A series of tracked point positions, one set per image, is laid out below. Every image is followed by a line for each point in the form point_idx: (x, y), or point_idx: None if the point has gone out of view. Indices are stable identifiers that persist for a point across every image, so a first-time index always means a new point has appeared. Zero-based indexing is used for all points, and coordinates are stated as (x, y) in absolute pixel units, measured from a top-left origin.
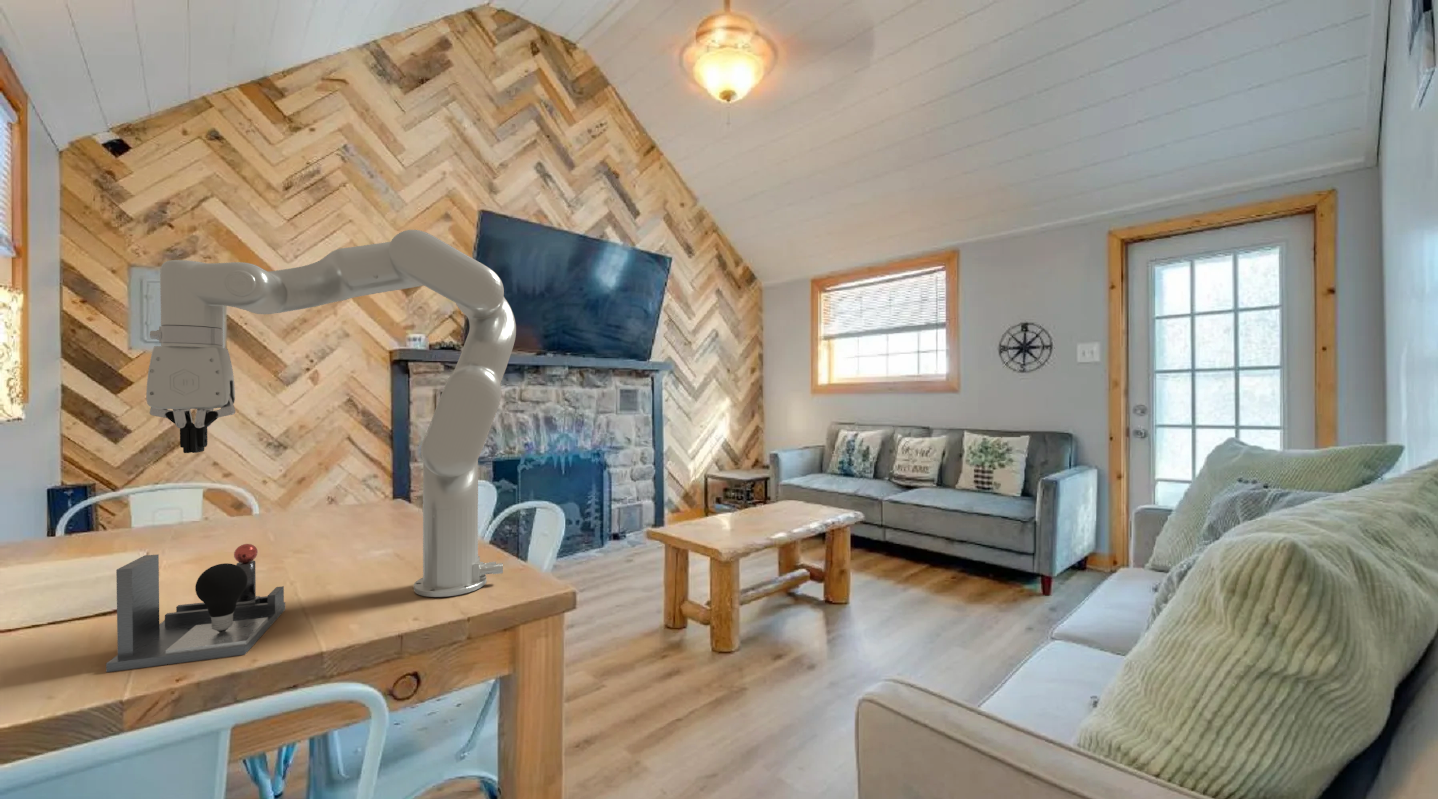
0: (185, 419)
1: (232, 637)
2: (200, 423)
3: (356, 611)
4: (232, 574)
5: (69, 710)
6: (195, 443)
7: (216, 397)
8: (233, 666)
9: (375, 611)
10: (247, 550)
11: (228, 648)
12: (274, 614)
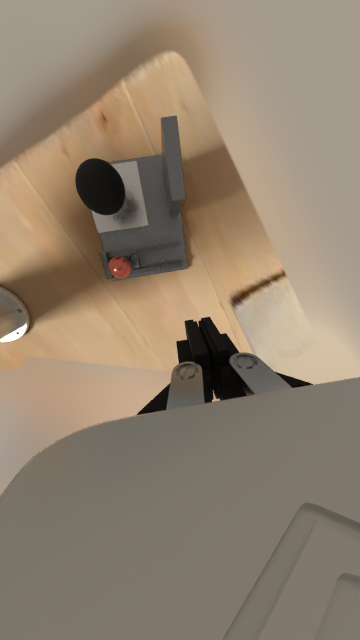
0: (240, 384)
1: None
2: (183, 375)
3: (48, 262)
4: (77, 170)
5: (152, 65)
6: (187, 330)
7: (12, 535)
8: (75, 140)
9: (30, 259)
10: (112, 259)
11: None
12: (104, 250)
